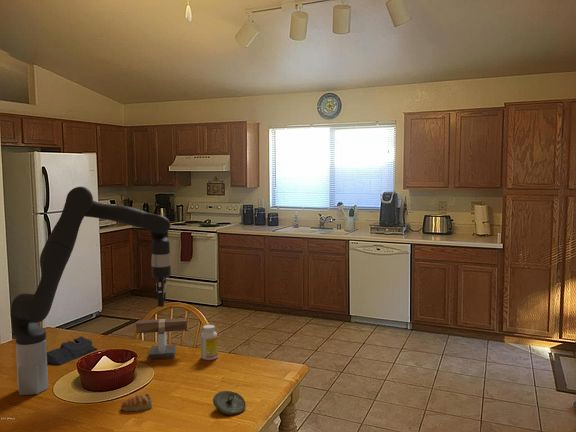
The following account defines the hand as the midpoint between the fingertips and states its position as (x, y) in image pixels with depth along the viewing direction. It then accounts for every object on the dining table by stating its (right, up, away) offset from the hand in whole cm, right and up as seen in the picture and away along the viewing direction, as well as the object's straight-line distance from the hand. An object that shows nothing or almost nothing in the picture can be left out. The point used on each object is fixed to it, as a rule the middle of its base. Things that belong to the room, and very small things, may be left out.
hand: (161, 303), depth 199 cm
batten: (0, -11, +1) cm, 11 cm away
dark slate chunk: (-40, -22, +2) cm, 45 cm away
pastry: (+4, -25, -44) cm, 51 cm away
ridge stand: (0, -21, +2) cm, 21 cm away
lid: (+33, -25, -46) cm, 62 cm away
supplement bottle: (+20, -22, -2) cm, 29 cm away
